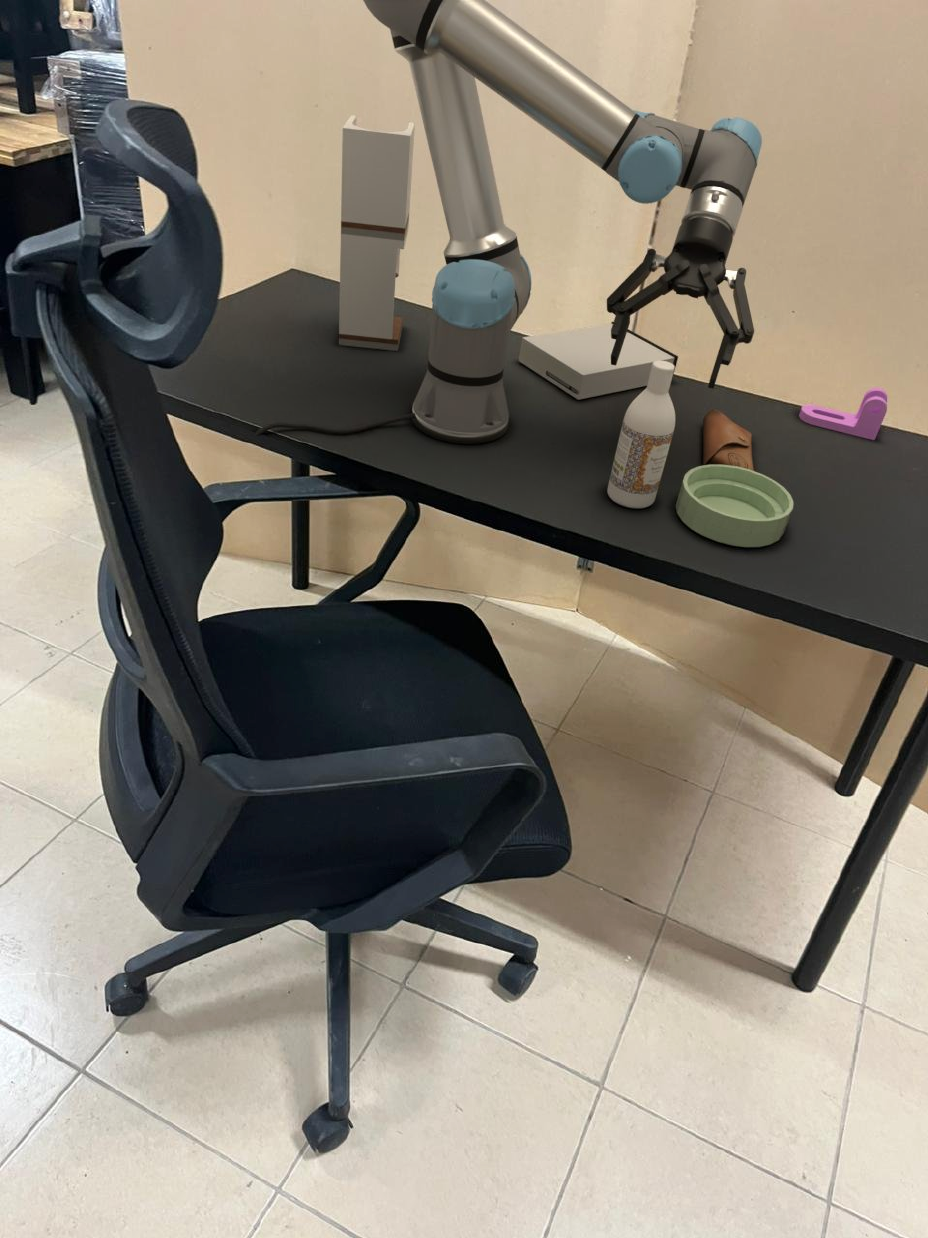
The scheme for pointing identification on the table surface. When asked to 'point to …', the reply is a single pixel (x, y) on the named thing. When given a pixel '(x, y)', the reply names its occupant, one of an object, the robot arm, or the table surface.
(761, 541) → the dish
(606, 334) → the disc drive
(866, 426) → the bracket
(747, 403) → the table surface
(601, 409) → the table surface
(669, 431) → the bath foam
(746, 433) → the sunglasses case
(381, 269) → the tall white banded column
